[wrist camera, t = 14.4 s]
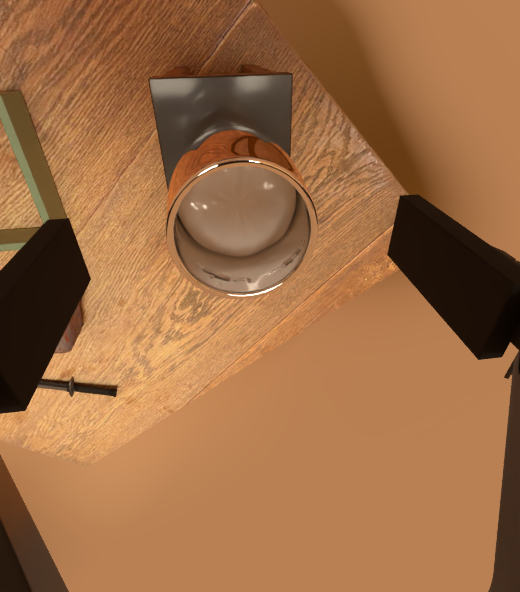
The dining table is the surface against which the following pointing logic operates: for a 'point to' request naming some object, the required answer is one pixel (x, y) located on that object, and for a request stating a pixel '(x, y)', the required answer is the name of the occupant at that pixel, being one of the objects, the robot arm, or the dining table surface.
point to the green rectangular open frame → (28, 167)
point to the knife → (76, 388)
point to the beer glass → (238, 210)
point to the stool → (219, 105)
